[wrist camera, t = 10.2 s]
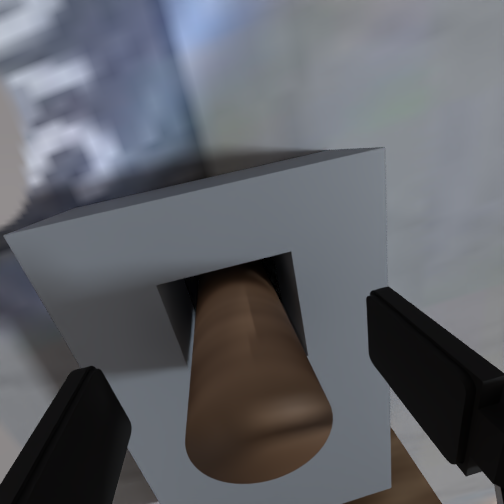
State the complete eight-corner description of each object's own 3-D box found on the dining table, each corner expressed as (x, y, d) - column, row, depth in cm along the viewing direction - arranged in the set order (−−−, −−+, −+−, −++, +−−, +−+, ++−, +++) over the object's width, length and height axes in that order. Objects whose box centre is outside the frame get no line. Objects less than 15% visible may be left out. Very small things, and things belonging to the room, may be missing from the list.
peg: (190, 254, 15) (163, 403, 6) (257, 237, 16) (325, 357, 6) (208, 310, 17) (208, 499, 8) (269, 294, 17) (338, 458, 8)
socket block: (73, 208, 14) (3, 235, 9) (329, 149, 15) (385, 147, 10) (193, 467, 22) (188, 553, 17) (354, 419, 23) (391, 487, 18)
